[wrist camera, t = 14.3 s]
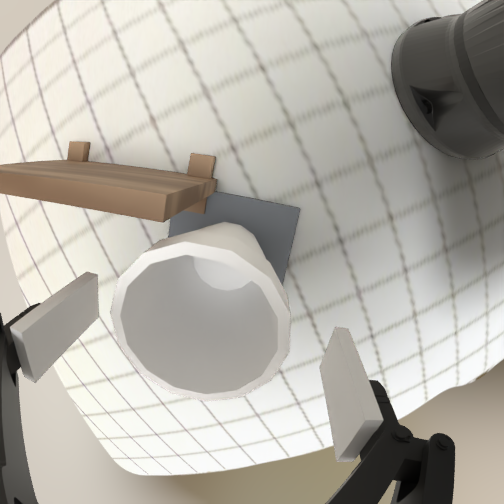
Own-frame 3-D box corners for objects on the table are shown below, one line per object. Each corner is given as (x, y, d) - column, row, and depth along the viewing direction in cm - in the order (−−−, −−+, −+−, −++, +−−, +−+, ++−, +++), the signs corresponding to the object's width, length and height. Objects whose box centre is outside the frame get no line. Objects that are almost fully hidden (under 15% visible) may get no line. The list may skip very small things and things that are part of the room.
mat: (177, 184, 26) (175, 185, 25) (299, 208, 26) (300, 209, 25) (164, 295, 29) (162, 298, 28) (272, 318, 29) (272, 321, 28)
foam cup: (296, 279, 27) (318, 368, 15) (209, 318, 29) (176, 415, 16) (247, 185, 25) (230, 204, 12) (158, 234, 26) (81, 290, 14)
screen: (71, 141, 25) (-34, 141, 11) (221, 157, 25) (173, 150, 11) (66, 189, 26) (-37, 214, 13) (211, 213, 26) (158, 263, 13)
